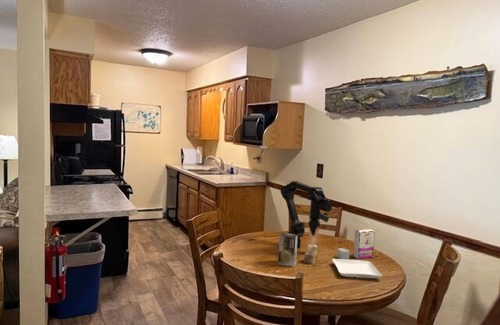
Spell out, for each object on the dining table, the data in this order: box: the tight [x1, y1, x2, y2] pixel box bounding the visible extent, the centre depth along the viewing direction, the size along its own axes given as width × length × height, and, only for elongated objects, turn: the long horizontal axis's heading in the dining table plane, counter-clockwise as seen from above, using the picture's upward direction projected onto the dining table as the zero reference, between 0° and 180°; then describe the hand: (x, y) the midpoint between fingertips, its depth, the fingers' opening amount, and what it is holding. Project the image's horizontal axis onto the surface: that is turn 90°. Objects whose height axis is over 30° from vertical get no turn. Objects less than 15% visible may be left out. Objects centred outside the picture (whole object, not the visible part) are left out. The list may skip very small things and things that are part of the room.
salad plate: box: [332, 258, 383, 279], centre depth 184 cm, size 21×21×3 cm
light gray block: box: [336, 248, 350, 260], centre depth 204 cm, size 5×5×5 cm
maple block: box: [306, 243, 318, 256], centre depth 208 cm, size 5×5×5 cm
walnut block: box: [303, 251, 317, 265], centre depth 194 cm, size 5×5×5 cm
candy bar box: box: [352, 228, 376, 260], centre depth 207 cm, size 11×5×16 cm, turn 112°
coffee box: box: [277, 232, 298, 268], centre depth 189 cm, size 9×6×16 cm
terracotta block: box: [308, 226, 319, 238], centre depth 207 cm, size 5×5×5 cm
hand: (313, 234), depth 208 cm, fingers closed on terracotta block, 5 cm apart
